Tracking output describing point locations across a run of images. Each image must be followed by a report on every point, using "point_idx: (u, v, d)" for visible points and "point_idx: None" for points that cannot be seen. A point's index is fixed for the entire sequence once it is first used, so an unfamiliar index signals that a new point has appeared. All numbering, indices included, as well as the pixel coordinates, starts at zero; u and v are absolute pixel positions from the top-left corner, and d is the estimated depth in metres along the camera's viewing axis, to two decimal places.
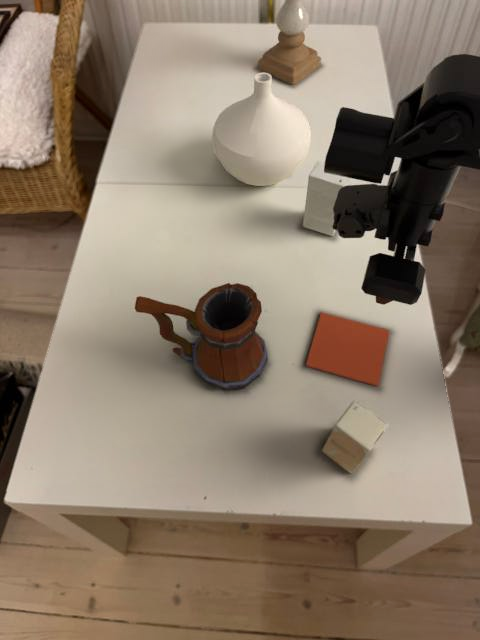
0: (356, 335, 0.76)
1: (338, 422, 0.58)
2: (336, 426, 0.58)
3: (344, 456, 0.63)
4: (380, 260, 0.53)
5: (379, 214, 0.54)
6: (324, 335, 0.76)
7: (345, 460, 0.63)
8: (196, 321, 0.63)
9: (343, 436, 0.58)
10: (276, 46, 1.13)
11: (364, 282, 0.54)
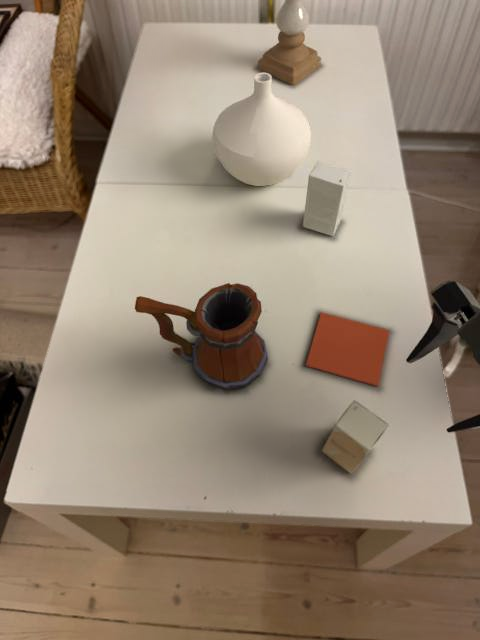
0: (356, 335, 0.76)
1: (338, 422, 0.58)
2: (336, 426, 0.58)
3: (344, 456, 0.63)
4: None
5: None
6: (324, 335, 0.76)
7: (345, 460, 0.63)
8: (196, 321, 0.63)
9: (343, 436, 0.58)
10: (276, 46, 1.13)
11: None
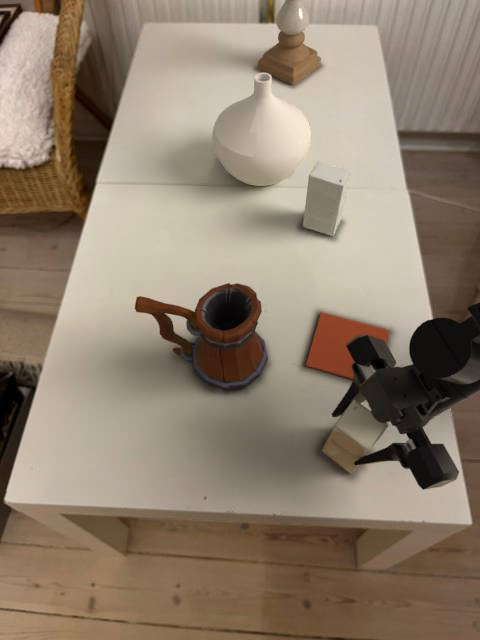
0: (356, 335, 0.76)
1: (338, 422, 0.58)
2: (336, 426, 0.58)
3: (344, 456, 0.63)
4: (433, 453, 0.52)
5: (426, 405, 0.52)
6: (324, 335, 0.76)
7: (345, 460, 0.63)
8: (196, 321, 0.63)
9: (343, 436, 0.58)
10: (276, 46, 1.13)
11: (430, 480, 0.50)
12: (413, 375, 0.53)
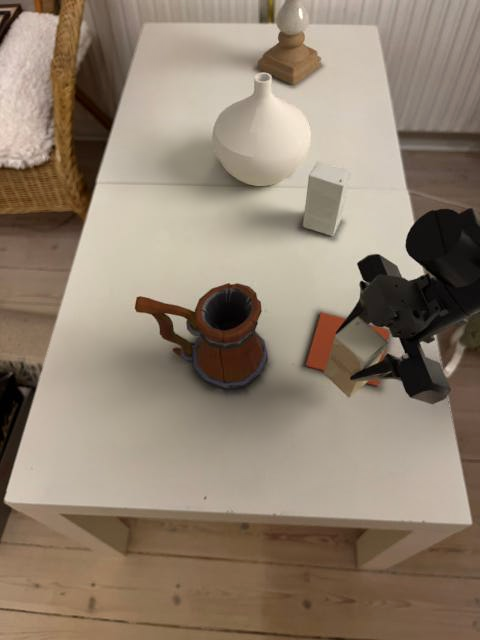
0: None
1: (338, 334, 0.59)
2: (336, 337, 0.59)
3: (343, 375, 0.64)
4: (425, 363, 0.52)
5: (424, 315, 0.52)
6: (324, 335, 0.76)
7: (343, 380, 0.64)
8: (196, 321, 0.63)
9: (342, 349, 0.60)
10: (276, 46, 1.13)
11: (417, 388, 0.51)
12: (416, 287, 0.53)
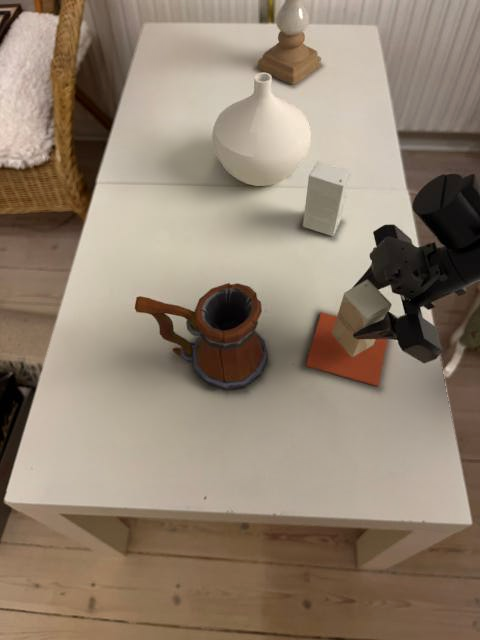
0: None
1: (347, 292, 0.64)
2: (344, 295, 0.65)
3: (348, 334, 0.69)
4: (420, 322, 0.57)
5: (425, 278, 0.57)
6: (324, 335, 0.76)
7: (348, 339, 0.70)
8: (196, 321, 0.63)
9: (348, 307, 0.65)
10: (276, 46, 1.13)
11: (409, 341, 0.56)
12: (421, 253, 0.58)
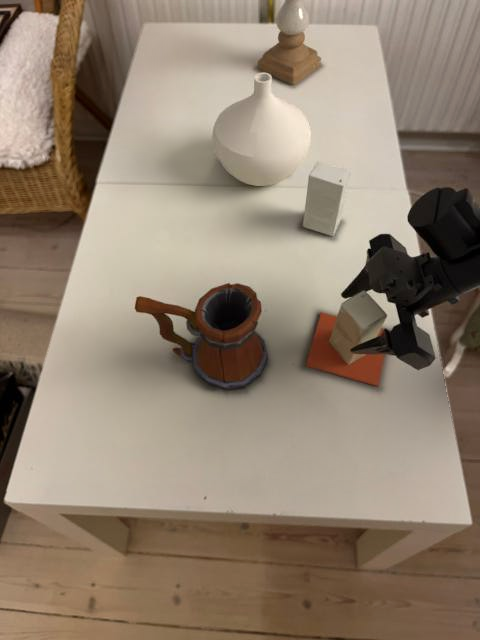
0: None
1: (344, 302, 0.66)
2: (341, 305, 0.67)
3: (345, 343, 0.71)
4: (414, 330, 0.59)
5: (419, 288, 0.59)
6: (324, 335, 0.76)
7: (344, 347, 0.72)
8: (196, 321, 0.63)
9: (345, 317, 0.67)
10: (276, 46, 1.13)
11: (404, 349, 0.57)
12: (416, 263, 0.60)
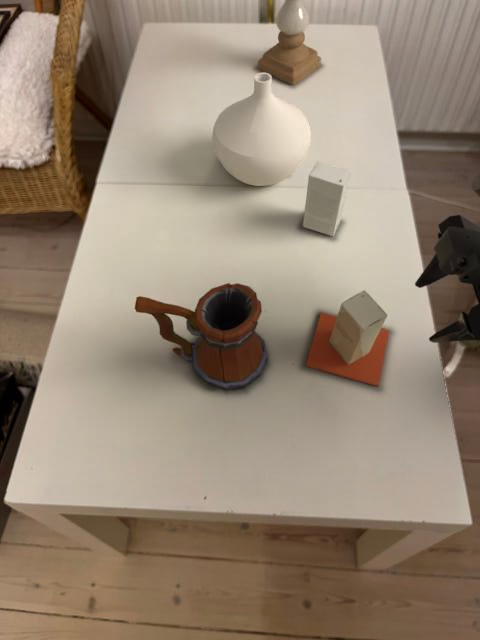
0: None
1: (344, 302, 0.66)
2: (341, 305, 0.67)
3: (345, 343, 0.71)
4: None
5: None
6: (324, 335, 0.76)
7: (344, 347, 0.72)
8: (196, 321, 0.63)
9: (345, 317, 0.67)
10: (276, 46, 1.13)
11: None
12: None
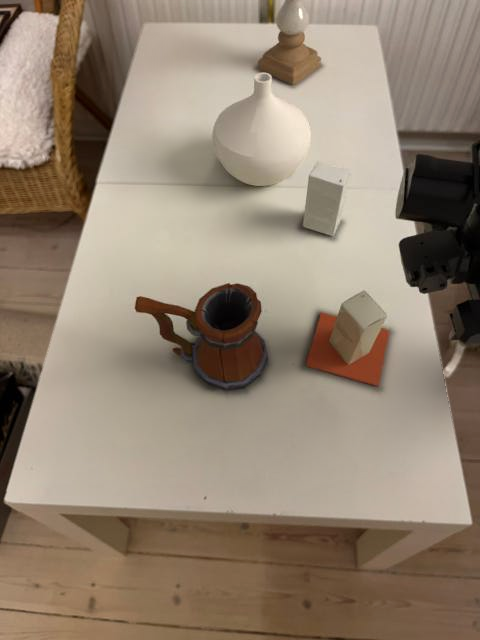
0: None
1: (344, 302, 0.66)
2: (341, 305, 0.67)
3: (345, 343, 0.71)
4: (473, 308, 0.52)
5: (457, 262, 0.52)
6: (324, 335, 0.76)
7: (344, 347, 0.72)
8: (196, 321, 0.63)
9: (345, 317, 0.67)
10: (276, 46, 1.13)
11: (464, 334, 0.52)
12: (448, 235, 0.53)
